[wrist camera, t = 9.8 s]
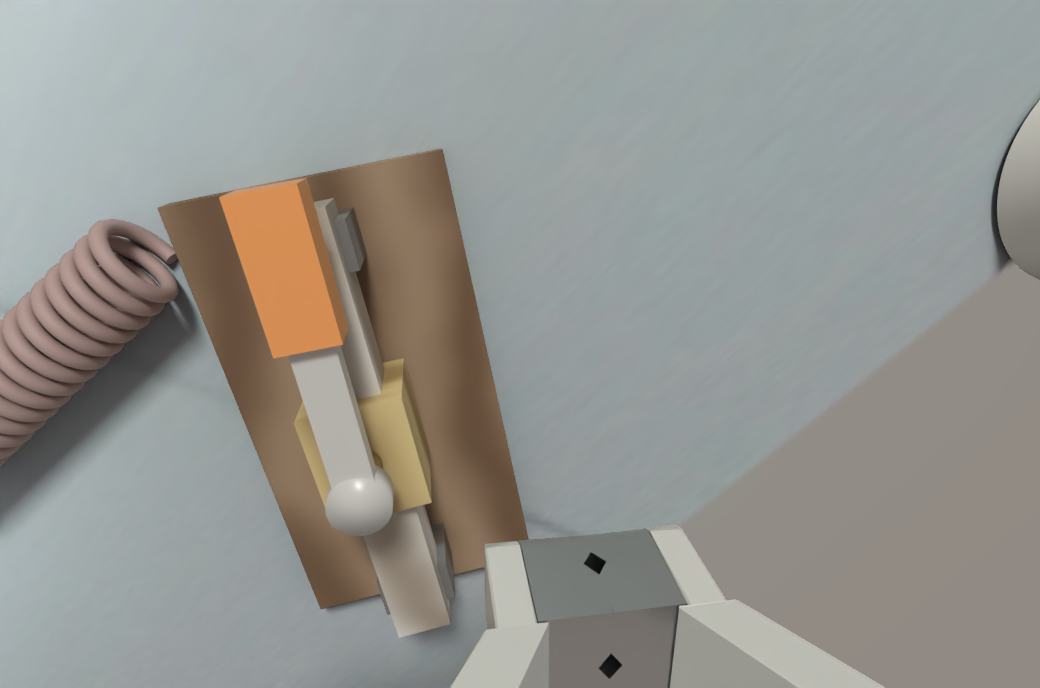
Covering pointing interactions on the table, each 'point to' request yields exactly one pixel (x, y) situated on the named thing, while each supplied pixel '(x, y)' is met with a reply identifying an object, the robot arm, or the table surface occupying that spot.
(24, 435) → the coil
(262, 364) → the valve stand
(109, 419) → the table surface
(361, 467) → the valve lever
